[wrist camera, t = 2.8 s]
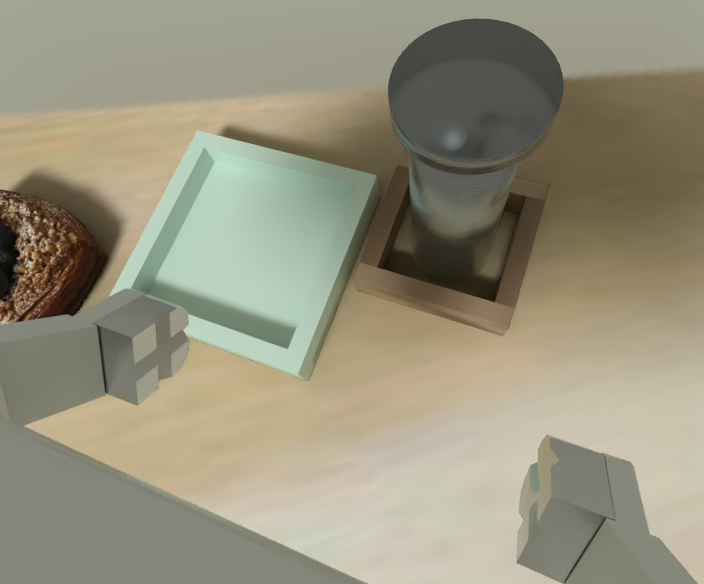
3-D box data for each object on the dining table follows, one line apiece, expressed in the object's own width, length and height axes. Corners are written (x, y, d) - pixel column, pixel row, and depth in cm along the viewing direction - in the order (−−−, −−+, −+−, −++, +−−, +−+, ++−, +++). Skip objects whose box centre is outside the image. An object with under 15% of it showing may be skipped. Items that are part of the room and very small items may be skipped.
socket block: (540, 203, 28) (549, 185, 26) (503, 335, 26) (509, 326, 24) (404, 169, 30) (403, 150, 28) (357, 290, 28) (353, 278, 26)
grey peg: (510, 217, 28) (580, 33, 16) (484, 304, 27) (539, 175, 14) (418, 194, 29) (418, 7, 17) (388, 276, 28) (364, 135, 16)
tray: (380, 196, 30) (377, 175, 27) (308, 381, 26) (297, 374, 24) (212, 153, 32) (197, 130, 30) (129, 315, 29) (105, 303, 27)
